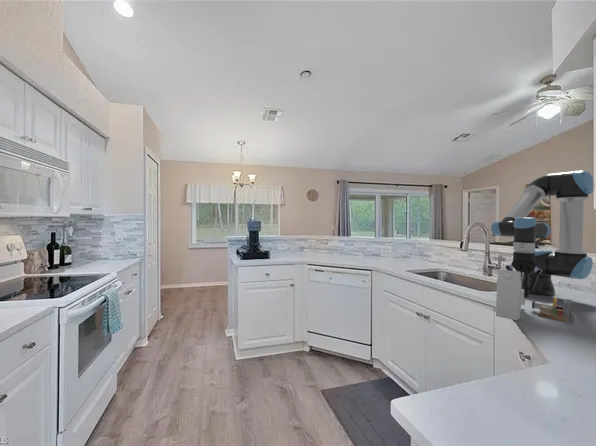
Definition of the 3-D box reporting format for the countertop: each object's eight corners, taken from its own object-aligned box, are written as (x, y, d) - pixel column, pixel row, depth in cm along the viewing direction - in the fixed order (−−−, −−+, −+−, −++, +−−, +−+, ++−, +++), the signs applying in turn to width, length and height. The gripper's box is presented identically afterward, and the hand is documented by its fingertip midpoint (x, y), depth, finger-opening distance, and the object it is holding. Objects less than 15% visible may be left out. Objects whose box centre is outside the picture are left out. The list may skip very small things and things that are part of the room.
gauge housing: (545, 310, 122) (545, 294, 122) (572, 315, 115) (572, 299, 115) (538, 315, 114) (538, 298, 114) (566, 321, 108) (567, 304, 108)
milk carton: (499, 312, 118) (500, 268, 117) (520, 316, 113) (521, 270, 112) (495, 316, 113) (497, 270, 112) (517, 321, 108) (519, 272, 107)
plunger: (534, 307, 122) (534, 293, 122) (557, 311, 116) (557, 297, 115) (531, 308, 119) (532, 294, 119) (555, 313, 113) (555, 299, 113)
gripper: (503, 250, 126) (502, 302, 126) (540, 254, 116) (539, 310, 116) (508, 249, 130) (507, 299, 131) (545, 252, 120) (543, 306, 121)
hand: (522, 304), depth 123 cm, fingers closed
